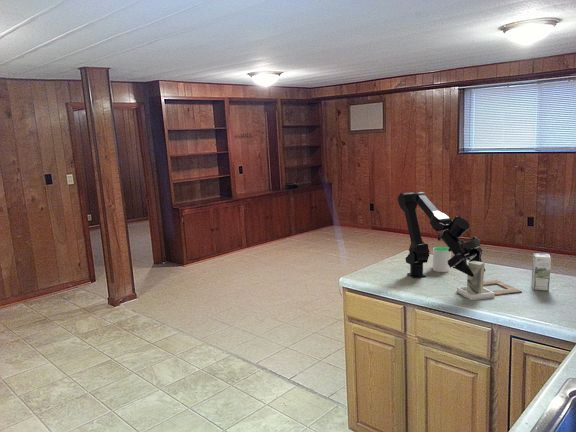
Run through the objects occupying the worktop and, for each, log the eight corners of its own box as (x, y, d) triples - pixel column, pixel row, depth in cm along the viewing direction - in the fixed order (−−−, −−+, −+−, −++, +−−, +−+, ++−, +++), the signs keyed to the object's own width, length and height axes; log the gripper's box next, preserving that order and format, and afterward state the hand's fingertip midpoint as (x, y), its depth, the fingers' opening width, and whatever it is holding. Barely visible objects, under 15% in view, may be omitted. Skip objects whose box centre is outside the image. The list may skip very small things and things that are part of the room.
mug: (428, 265, 231) (429, 245, 229) (445, 265, 230) (445, 244, 228) (435, 272, 219) (435, 251, 217) (452, 272, 218) (453, 250, 217)
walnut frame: (467, 284, 200) (467, 282, 200) (496, 281, 203) (496, 279, 202) (490, 296, 185) (490, 294, 184) (521, 292, 187) (521, 291, 187)
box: (466, 293, 187) (467, 262, 185) (471, 290, 190) (472, 260, 188) (479, 296, 183) (480, 264, 181) (483, 293, 186) (485, 262, 184)
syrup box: (546, 287, 193) (548, 253, 190) (549, 291, 187) (551, 256, 185) (531, 286, 195) (532, 252, 192) (533, 290, 189) (535, 256, 187)
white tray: (456, 292, 190) (456, 287, 190) (479, 289, 192) (479, 284, 192) (470, 300, 181) (471, 295, 180) (494, 297, 182) (494, 292, 182)
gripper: (455, 234, 179) (482, 267, 173) (478, 227, 191) (504, 257, 185) (436, 251, 186) (461, 283, 180) (460, 243, 198) (484, 273, 192)
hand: (479, 273), depth 184 cm, fingers open, 9 cm apart
